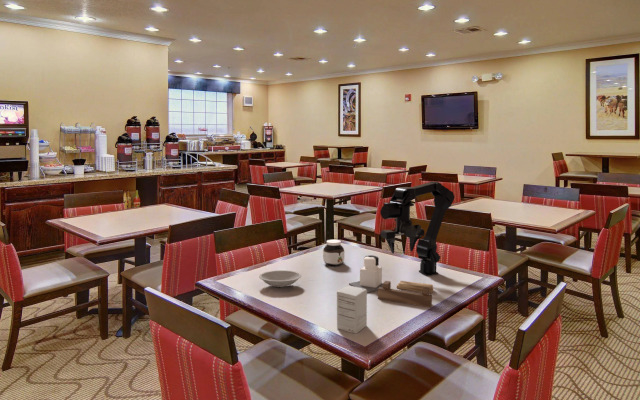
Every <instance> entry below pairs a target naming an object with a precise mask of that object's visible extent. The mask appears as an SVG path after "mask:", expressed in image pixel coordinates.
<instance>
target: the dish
mask: <svg viewBox="0 0 640 400" xmlns="http://www.w3.org/2000/svg"><path fill="white" fill-rule="evenodd" d="M258 278H259V279H260V280H262V281H263V282H264V283H265V284H267V285H269V286H271V287H277V288H279V287H282V288H284V287H288V286H291V285H293V284H295V283H296V282H297V281H298V280H299V279H301V278H302V273H300V272H297V271H292V270H271V271H265V272H262V273H259V275H258Z"/></svg>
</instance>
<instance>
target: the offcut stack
mask: <svg viewBox="0 0 640 400" xmlns="http://www.w3.org/2000/svg"><path fill="white" fill-rule="evenodd" d="M424 286H425V287H430V293H429V294H432V293H433V291H434V284H432V283H431V284H430V283H424V282H423V283H422V282H415V281H406V280H400V282H398V284H396V289H398V290H404V291H410V292H417V293H422V289H423V287H424Z"/></svg>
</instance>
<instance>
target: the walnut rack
mask: <svg viewBox="0 0 640 400" xmlns="http://www.w3.org/2000/svg"><path fill="white" fill-rule="evenodd" d="M382 283H383V287H379V288H378V291H377V299H379V300H384V301H390V302H396V303H403V304H409V305H414V306H419V307H424V308H425V307H426V308H431V307H432V306H433V295H432V294H431V293H430V287H425V286H424V287H423V289H422V292H416V291H409V290H403V289H397V288H396V289H395V288H391V287H392V286H391V284H392V283H391V281H390V280H385V281H383V282H382Z"/></svg>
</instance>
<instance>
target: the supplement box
mask: <svg viewBox="0 0 640 400" xmlns="http://www.w3.org/2000/svg"><path fill="white" fill-rule="evenodd" d="M367 296H368V293H367V289H363V288H359V287H354V286H350V285H349V284H347V285H346V286H344V287H343V288H341V289H339V290H337V291H336V328H337V329H339V330H341V331H345V332H349V333H351V334H358V333H359V332H360V331H362V330H363V329H364V328H366V327H367V325H368V322H367V320H368V319H367V317H368V314H367V313H368V311H367V307H368V303H367V300H368V298H367Z"/></svg>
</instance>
